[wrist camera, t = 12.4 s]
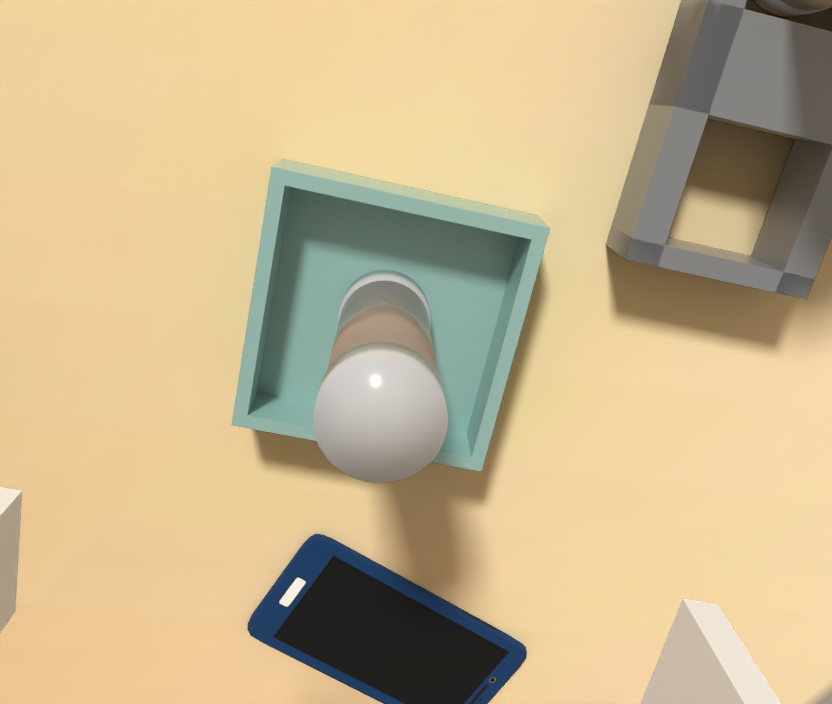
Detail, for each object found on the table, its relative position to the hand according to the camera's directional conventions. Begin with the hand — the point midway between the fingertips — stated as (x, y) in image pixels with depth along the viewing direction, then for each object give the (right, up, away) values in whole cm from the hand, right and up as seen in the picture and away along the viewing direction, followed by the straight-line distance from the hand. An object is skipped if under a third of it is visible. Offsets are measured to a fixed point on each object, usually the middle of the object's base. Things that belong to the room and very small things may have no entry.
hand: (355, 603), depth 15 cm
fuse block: (+15, +16, +16) cm, 28 cm away
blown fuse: (0, +7, +19) cm, 20 cm away
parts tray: (0, +7, +19) cm, 21 cm away
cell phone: (0, -10, +26) cm, 28 cm away
